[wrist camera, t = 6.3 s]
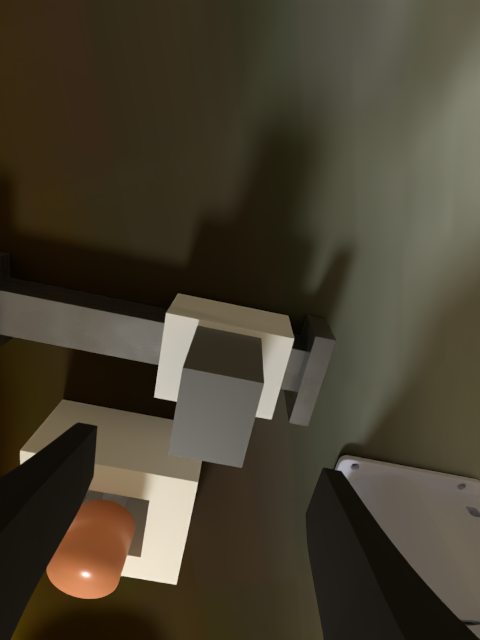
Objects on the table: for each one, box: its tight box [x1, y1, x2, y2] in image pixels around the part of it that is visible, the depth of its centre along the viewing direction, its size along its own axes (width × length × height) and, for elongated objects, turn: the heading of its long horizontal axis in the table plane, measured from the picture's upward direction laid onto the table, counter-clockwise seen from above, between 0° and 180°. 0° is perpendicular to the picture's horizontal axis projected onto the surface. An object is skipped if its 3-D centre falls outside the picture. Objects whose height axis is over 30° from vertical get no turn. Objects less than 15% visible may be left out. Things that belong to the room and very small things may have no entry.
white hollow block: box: [20, 400, 202, 585], centre depth 22 cm, size 9×8×4 cm
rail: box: [0, 251, 336, 426], centre depth 19 cm, size 18×5×3 cm, turn 79°
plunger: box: [47, 493, 136, 599], centre depth 20 cm, size 3×3×5 cm
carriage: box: [154, 293, 294, 468], centre depth 17 cm, size 6×5×7 cm
